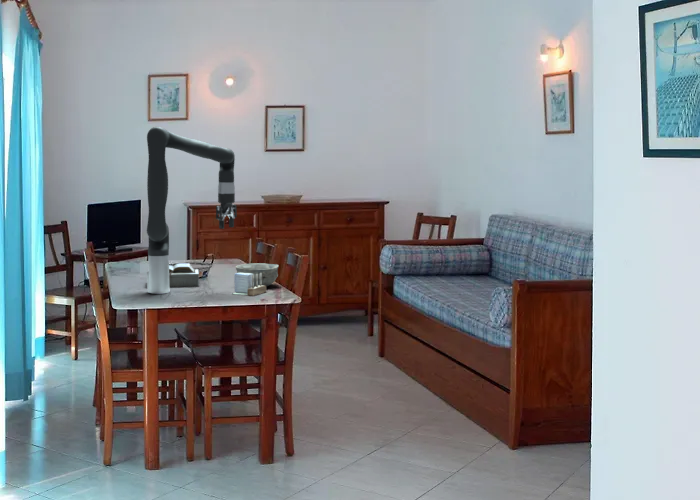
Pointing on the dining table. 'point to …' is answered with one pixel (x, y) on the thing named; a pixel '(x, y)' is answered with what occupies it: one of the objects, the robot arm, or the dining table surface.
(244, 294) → the pad
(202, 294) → the dining table surface
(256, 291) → the pin strip
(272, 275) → the bowl
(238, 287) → the medicine box
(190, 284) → the grey rectangular bin
